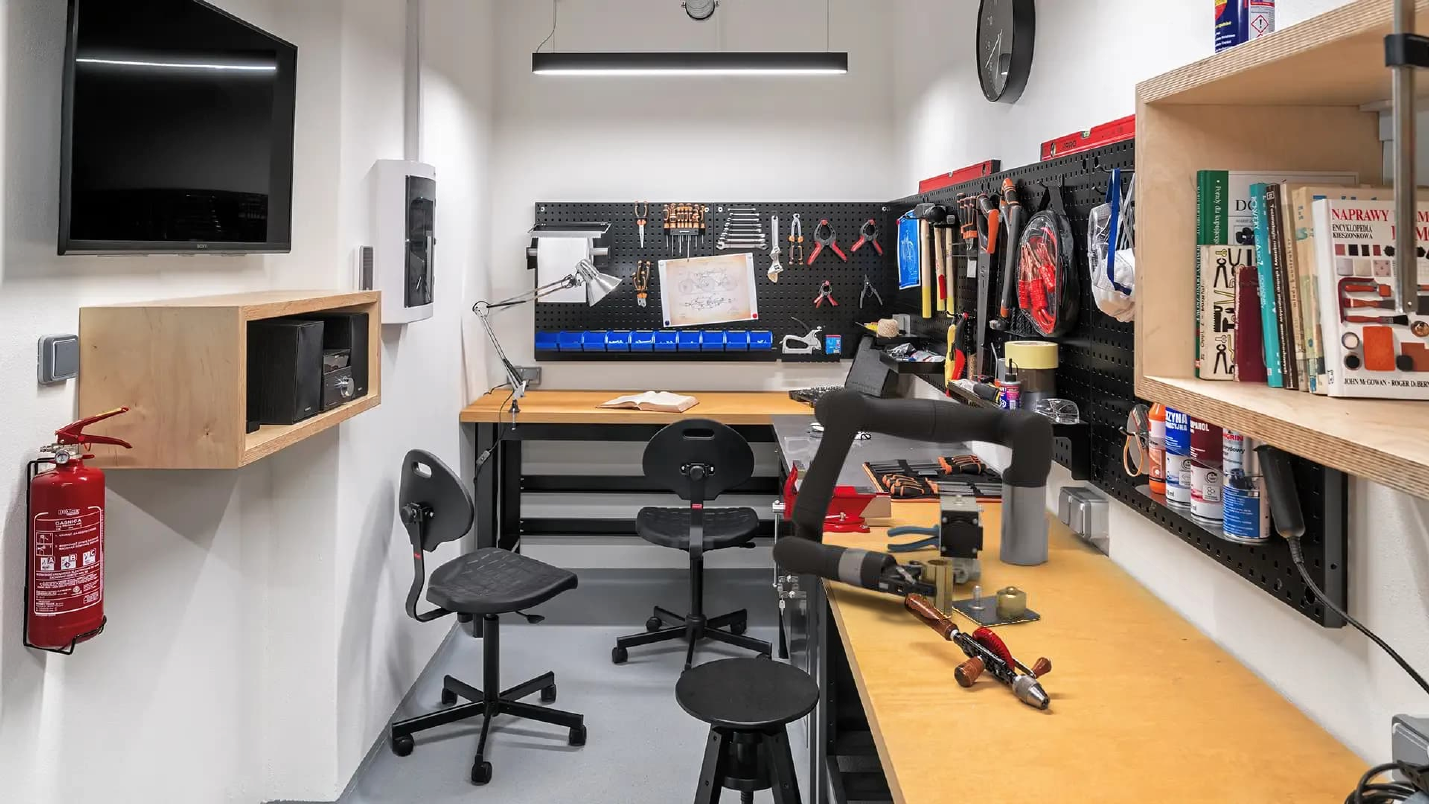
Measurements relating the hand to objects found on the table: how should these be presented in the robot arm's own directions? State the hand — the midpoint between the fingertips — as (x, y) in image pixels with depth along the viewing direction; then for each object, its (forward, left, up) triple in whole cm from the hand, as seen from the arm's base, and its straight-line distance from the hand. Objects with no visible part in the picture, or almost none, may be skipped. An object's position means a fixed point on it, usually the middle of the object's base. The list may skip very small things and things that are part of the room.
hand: (946, 585), depth 173 cm
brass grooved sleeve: (+1, -1, -6) cm, 6 cm away
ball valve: (-14, -18, -6) cm, 24 cm away
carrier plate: (-9, +1, -6) cm, 11 cm away
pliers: (-19, -39, -6) cm, 44 cm away
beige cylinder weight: (-11, +5, -6) cm, 13 cm away
